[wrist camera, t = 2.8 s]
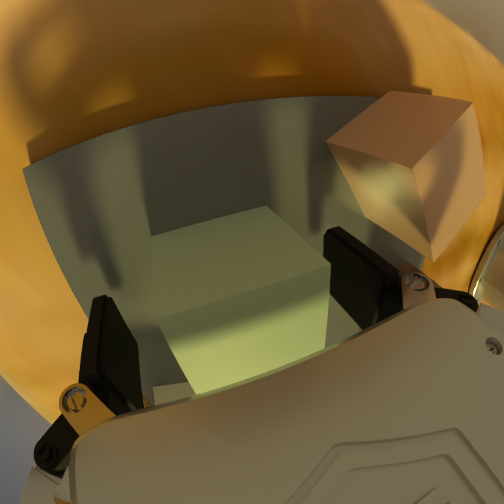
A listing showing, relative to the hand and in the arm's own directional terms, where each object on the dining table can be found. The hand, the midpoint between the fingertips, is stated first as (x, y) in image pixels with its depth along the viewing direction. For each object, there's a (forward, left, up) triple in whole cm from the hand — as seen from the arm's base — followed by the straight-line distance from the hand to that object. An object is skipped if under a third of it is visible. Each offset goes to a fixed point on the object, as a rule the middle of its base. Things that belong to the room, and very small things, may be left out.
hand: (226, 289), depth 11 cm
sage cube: (0, 0, -2) cm, 2 cm away
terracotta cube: (-9, -4, -2) cm, 10 cm away
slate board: (-4, +3, -2) cm, 6 cm away
